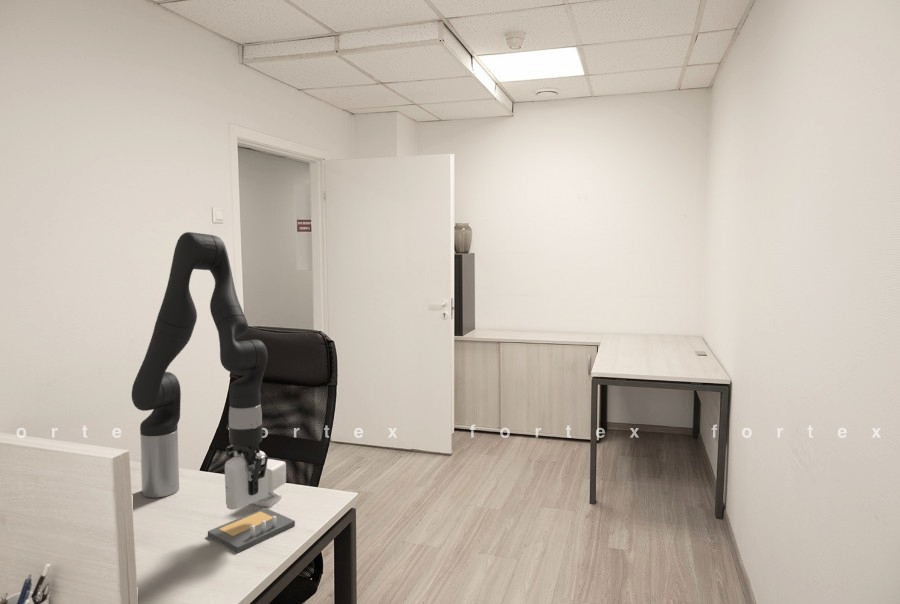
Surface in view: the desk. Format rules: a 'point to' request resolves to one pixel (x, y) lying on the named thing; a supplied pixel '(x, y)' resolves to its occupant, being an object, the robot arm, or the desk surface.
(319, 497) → the desk surface
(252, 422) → the robot arm
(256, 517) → the charging dock
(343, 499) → the desk surface
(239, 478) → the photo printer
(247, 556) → the desk surface
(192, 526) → the desk surface
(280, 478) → the security camera
